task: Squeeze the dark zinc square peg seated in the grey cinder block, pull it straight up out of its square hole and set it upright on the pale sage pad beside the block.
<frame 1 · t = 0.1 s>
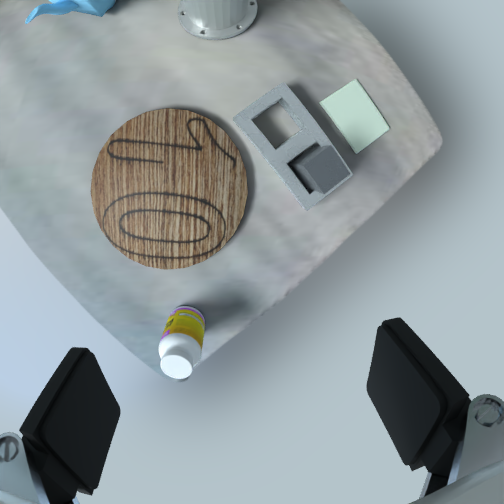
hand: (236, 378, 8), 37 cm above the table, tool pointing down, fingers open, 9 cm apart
trivet: (166, 189, 43), on the table
supplement bottle: (187, 320, 50), on the table
grey cinder block: (291, 146, 41), on the table
zinc peg: (307, 166, 43), resting in grey cinder block
sage pad: (355, 115, 40), on the table
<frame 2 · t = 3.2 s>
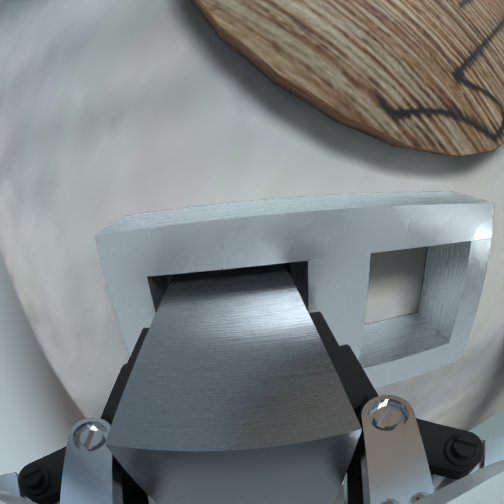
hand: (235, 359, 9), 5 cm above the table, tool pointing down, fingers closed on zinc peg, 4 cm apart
grey cinder block: (314, 286, 14), on the table
zinc peg: (233, 295, 14), resting in grey cinder block, touching gripper
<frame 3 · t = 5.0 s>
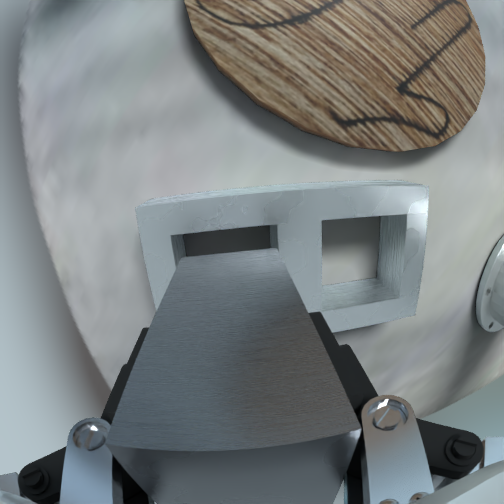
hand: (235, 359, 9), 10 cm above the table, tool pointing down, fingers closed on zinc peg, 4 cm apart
trivet: (355, 1, 14), on the table
grey cinder block: (289, 251, 19), on the table
zinc peg: (233, 295, 14), point 5 cm above the table, touching gripper
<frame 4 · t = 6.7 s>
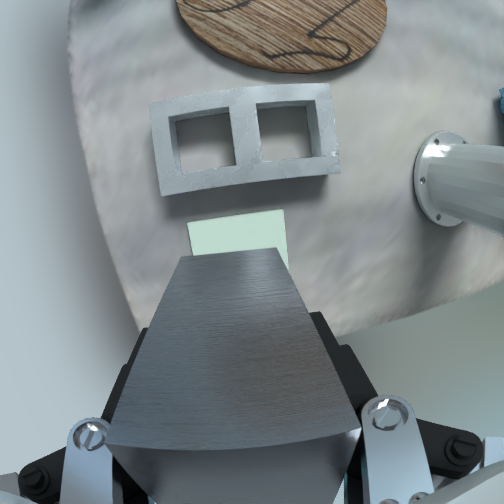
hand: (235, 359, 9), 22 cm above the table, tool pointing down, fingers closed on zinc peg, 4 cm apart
grey cinder block: (244, 136, 28), on the table
zinc peg: (233, 295, 14), point 17 cm above the table, touching gripper
sage pad: (240, 251, 31), on the table
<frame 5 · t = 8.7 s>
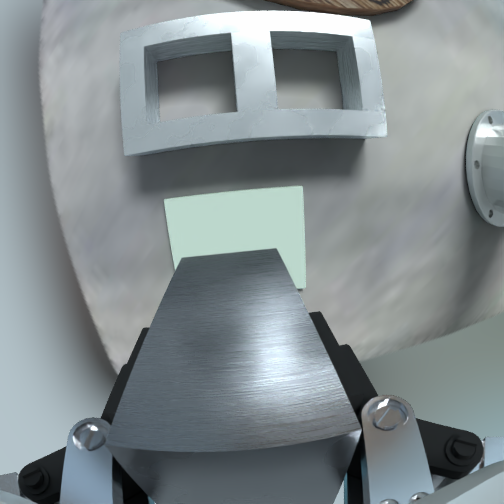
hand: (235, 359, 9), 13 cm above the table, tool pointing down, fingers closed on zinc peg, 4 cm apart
grey cinder block: (251, 82, 18), on the table
zinc peg: (233, 295, 14), point 8 cm above the table, touching gripper
sage pad: (237, 243, 22), on the table
when the fingers open (7 cm above the table, at t = 10.2 s): zinc peg drops 2 cm, resting on sage pad.
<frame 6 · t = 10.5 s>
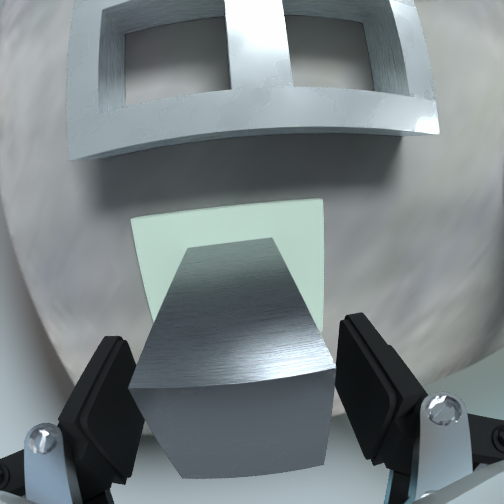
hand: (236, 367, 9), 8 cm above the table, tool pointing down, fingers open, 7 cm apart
grey cinder block: (251, 55, 12), on the table
zinc peg: (235, 281, 15), point 1 cm above the table, touching sage pad
sage pad: (233, 277, 16), on the table
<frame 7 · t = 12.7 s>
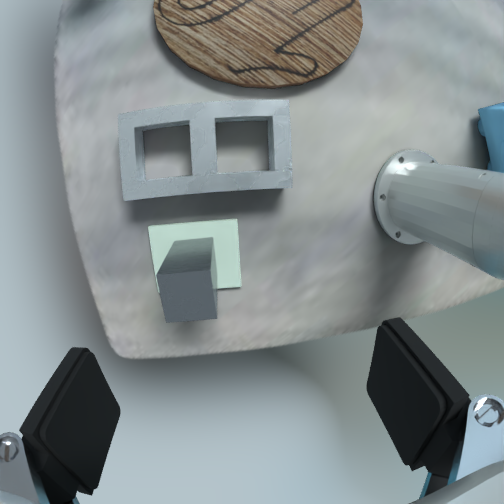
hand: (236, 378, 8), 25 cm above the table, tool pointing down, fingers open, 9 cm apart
trivet: (260, 3, 25), on the table
grey cinder block: (205, 148, 29), on the table
zinc peg: (196, 257, 32), point 1 cm above the table, touching sage pad
sage pad: (195, 256, 33), on the table
teakettle: (495, 138, 32), on the table
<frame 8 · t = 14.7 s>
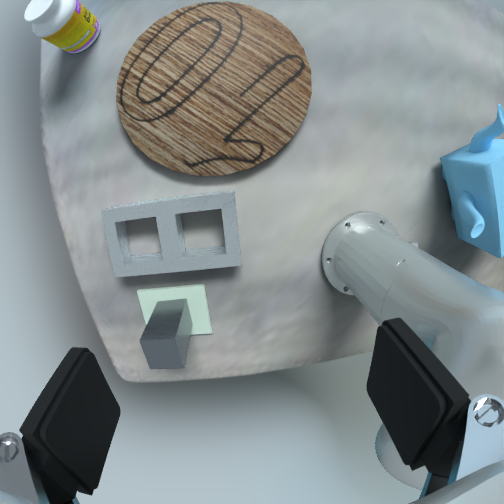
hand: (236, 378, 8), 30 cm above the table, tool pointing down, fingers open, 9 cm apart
trivet: (212, 83, 32), on the table
supplement bottle: (83, 35, 27), on the table
grey cinder block: (174, 230, 37), on the table
zinc peg: (175, 313, 41), point 1 cm above the table, touching sage pad
sage pad: (175, 311, 41), on the table
teakettle: (462, 179, 38), on the table
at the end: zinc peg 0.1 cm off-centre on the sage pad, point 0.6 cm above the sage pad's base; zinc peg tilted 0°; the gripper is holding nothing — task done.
